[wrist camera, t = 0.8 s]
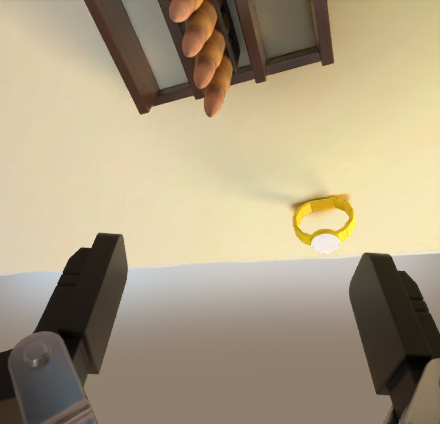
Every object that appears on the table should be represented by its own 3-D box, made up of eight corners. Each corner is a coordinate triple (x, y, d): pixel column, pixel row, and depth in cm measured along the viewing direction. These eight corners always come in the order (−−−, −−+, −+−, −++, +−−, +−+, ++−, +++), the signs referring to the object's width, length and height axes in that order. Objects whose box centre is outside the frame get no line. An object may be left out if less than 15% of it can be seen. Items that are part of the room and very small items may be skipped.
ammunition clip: (240, 52, 30) (230, 126, 21) (219, 59, 30) (200, 134, 22) (194, -115, 23) (151, -110, 15) (168, -104, 24) (110, -92, 15)
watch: (347, 187, 38) (358, 227, 34) (351, 206, 40) (362, 248, 35) (289, 199, 40) (292, 239, 35) (295, 217, 41) (299, 258, 37)
